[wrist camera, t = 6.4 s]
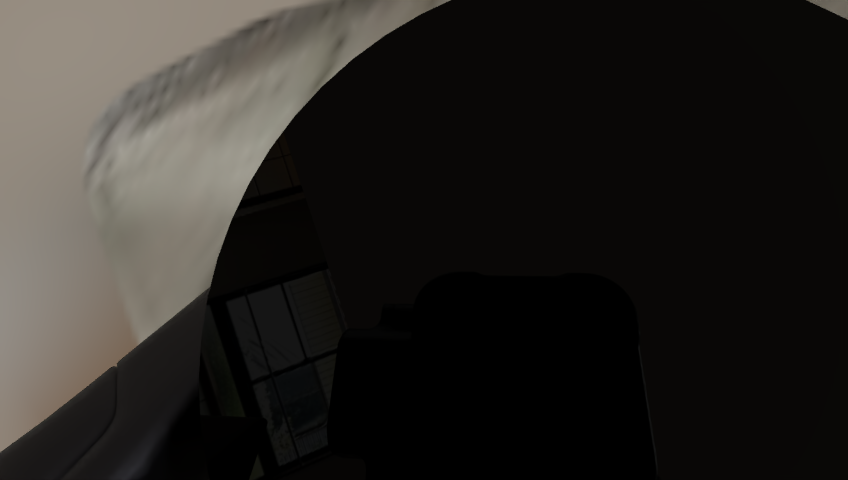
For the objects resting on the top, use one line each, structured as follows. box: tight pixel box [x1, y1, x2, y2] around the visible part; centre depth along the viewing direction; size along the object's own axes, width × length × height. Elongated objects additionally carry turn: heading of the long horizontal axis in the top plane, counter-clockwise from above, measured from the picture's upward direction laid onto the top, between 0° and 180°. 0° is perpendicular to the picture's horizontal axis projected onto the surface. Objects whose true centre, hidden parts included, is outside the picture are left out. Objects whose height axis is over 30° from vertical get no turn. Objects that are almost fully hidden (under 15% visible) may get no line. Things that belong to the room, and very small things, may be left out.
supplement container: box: [199, 0, 848, 480], centre depth 9 cm, size 7×7×10 cm
